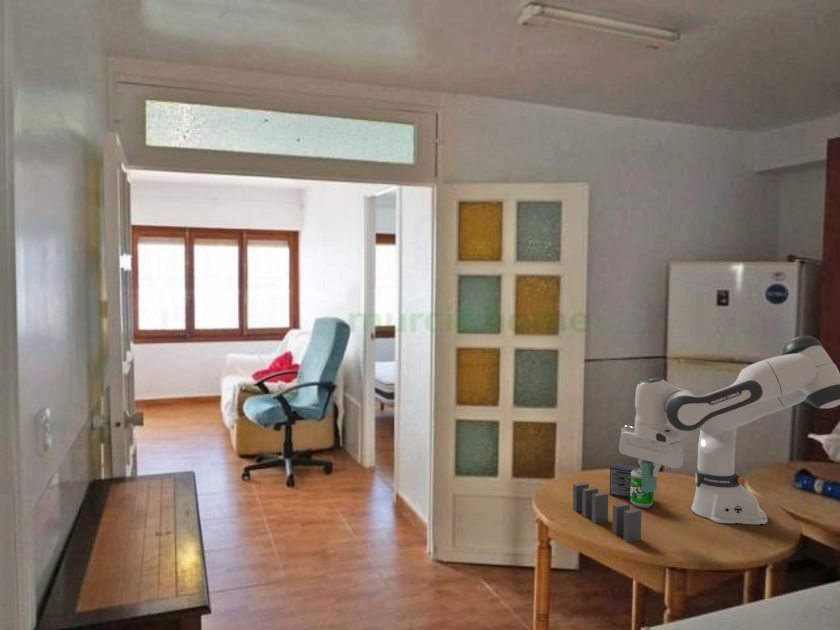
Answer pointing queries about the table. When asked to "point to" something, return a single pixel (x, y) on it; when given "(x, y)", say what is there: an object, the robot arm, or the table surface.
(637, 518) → the domino
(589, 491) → the domino
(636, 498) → the soda can
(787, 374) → the robot arm
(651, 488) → the domino
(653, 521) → the table surface
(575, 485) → the domino
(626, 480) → the small box
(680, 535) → the table surface
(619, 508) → the domino
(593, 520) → the domino
